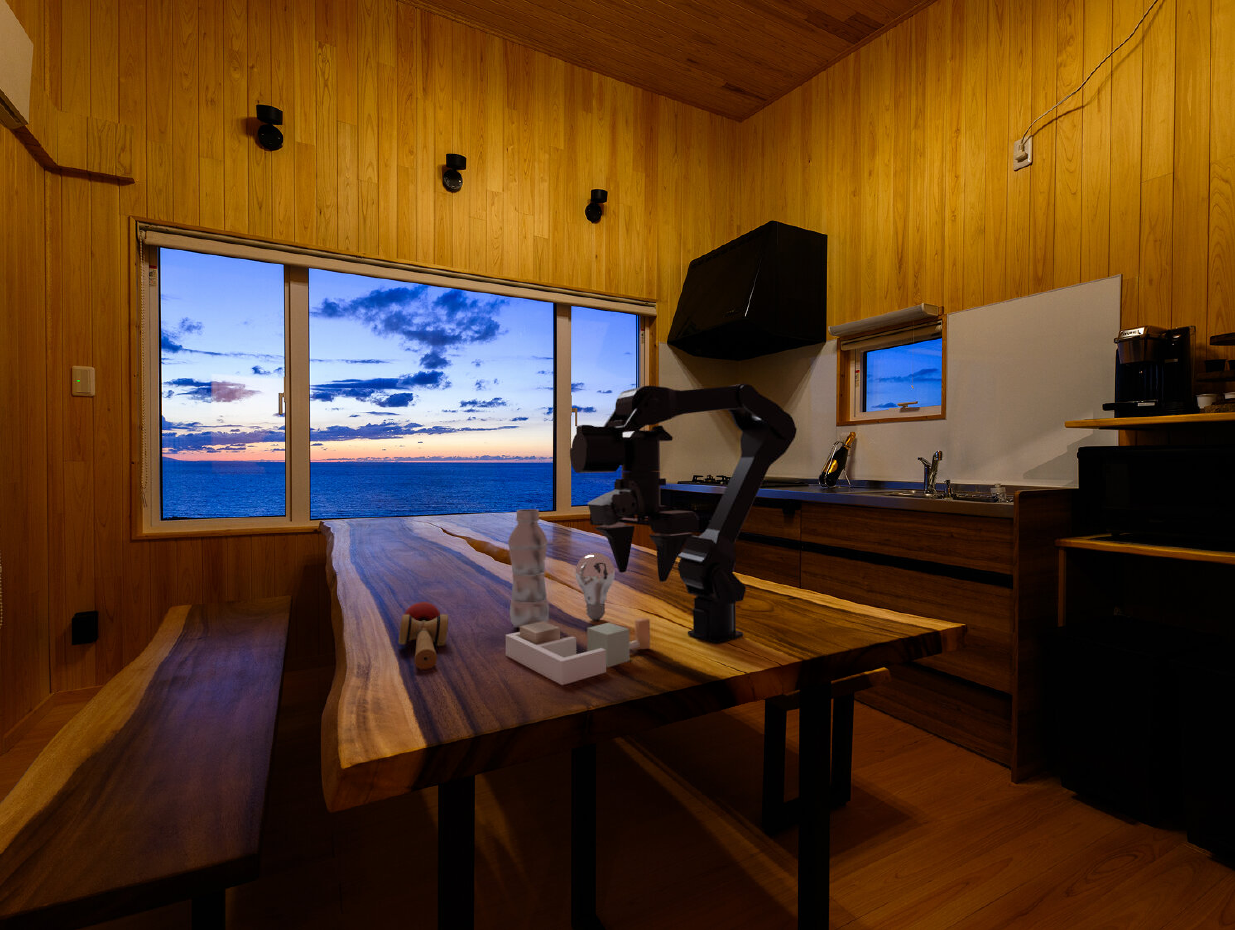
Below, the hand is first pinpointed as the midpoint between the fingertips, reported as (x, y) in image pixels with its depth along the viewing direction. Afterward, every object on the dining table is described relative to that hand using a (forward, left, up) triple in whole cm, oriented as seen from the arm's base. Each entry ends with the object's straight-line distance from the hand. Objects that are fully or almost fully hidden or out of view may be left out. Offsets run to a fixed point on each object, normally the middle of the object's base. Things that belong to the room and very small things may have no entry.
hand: (641, 576), depth 88 cm
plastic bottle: (+7, -21, -11) cm, 25 cm away
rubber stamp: (+4, 0, -11) cm, 12 cm away
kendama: (+25, -21, -11) cm, 35 cm away
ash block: (+13, -7, -11) cm, 19 cm away
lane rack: (+13, -3, -11) cm, 18 cm away
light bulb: (-4, -17, -11) cm, 21 cm away
